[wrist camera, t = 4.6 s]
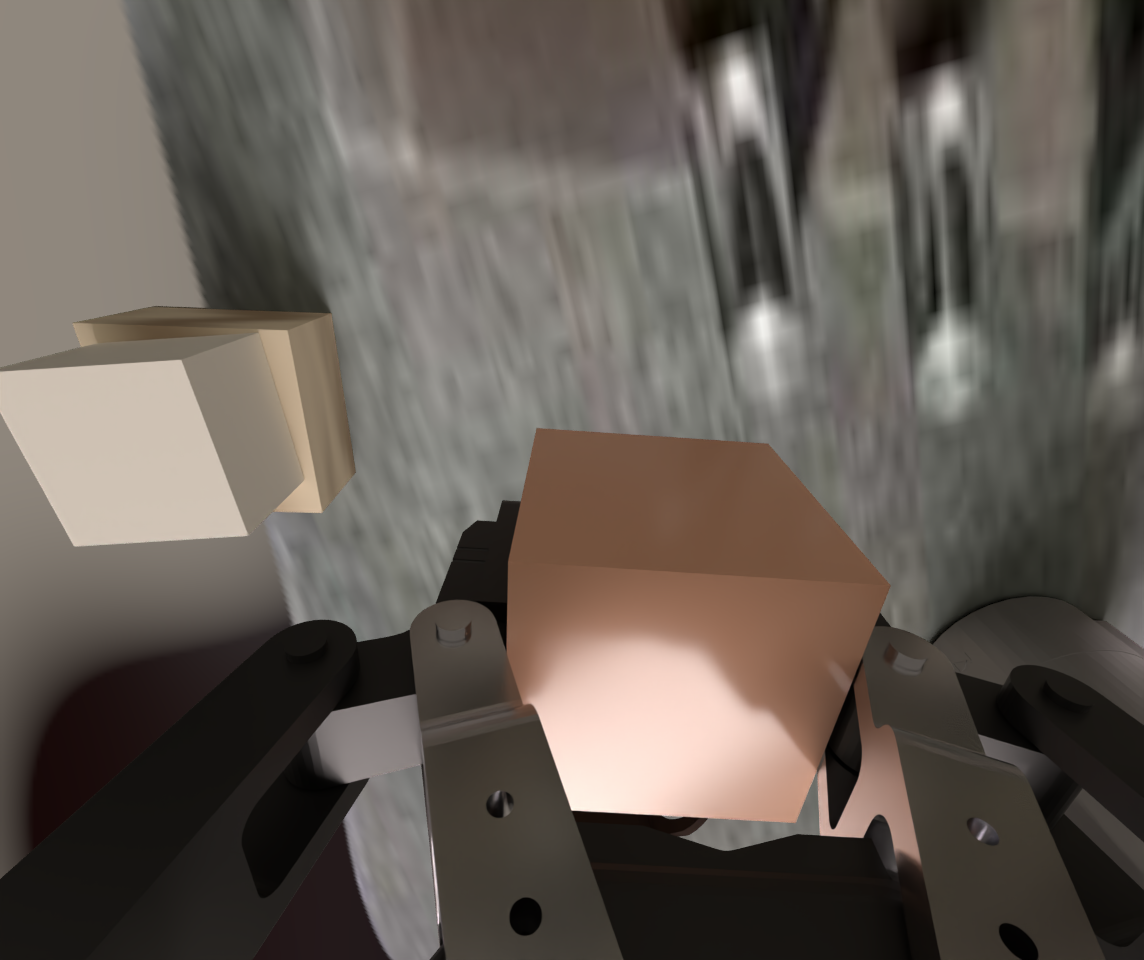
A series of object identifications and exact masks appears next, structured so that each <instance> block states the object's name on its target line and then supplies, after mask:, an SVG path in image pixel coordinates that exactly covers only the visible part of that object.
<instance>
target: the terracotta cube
mask: <svg viewBox="0 0 1144 960" xmlns="http://www.w3.org/2000/svg"><path fill="white" fill-rule="evenodd" d="M890 586H891V585H890V584H889V583H888V582H887V581H886V580H885V578H884V577H883V576H882V575H881V574H880V573H879V571H878V570H877V569H876V568H875V567H874V566H873V565H872V563H871V562H870V561H869V560H868V559H867V558H866V556H865V555H864V554H863V553H862V552H861V551H860V550H859V548H858V547H857V546H856V545H855V544H854V543H853V541H852V540H851V539H850V538H849V537H848V536H847V534H846V533H845V532H844V531H843V530H842V529H841V528H840V526H839V525H838V524H837V523H836V522H835V521H834V519H833V518H832V517H831V516H830V515H829V514H828V512H827V511H826V510H825V509H824V508H823V507H822V506H821V504H820V503H819V502H818V501H817V500H816V499H815V497H814V496H813V495H812V494H811V493H810V492H809V490H808V489H807V488H806V487H805V486H804V485H803V484H802V482H801V481H800V480H799V479H798V478H797V477H796V475H795V474H794V473H793V472H792V471H791V470H790V468H789V467H788V466H787V465H786V464H785V463H784V462H783V460H782V459H781V458H780V457H779V456H778V455H777V453H776V452H775V451H774V450H773V449H772V448H771V447H770V445H769V444H764V443H749V442H734V441H719V440H704V439H689V438H674V437H660V436H645V435H630V434H615V433H600V432H585V431H571V430H556V429H541V428H537V429H536V434H535V438H534V443H533V448H532V452H531V457H530V462H529V466H528V471H527V476H526V480H525V485H524V490H523V494H522V499H521V504H520V508H519V513H518V518H517V522H516V527H515V532H514V536H513V541H512V546H511V550H510V555H509V560H508V598H507V656H508V659H509V662H510V665H511V668H512V672H513V675H514V678H515V681H516V684H517V687H518V690H519V693H520V696H521V699H522V702H523V704H524V705H526V704H530V703H531V704H533V706H534V707H535V709H536V711H537V713H538V715H539V718H540V721H541V723H542V726H543V729H544V732H545V735H546V738H547V741H548V744H549V746H550V749H551V752H552V755H553V758H554V761H555V764H556V767H557V770H558V772H559V775H560V778H561V781H562V784H563V787H564V790H565V793H566V796H567V798H568V801H569V804H570V807H571V810H573V811H591V812H609V813H627V814H645V815H663V816H681V817H699V818H717V819H735V820H753V821H771V822H789V823H796V821H797V818H798V816H799V813H800V811H801V808H802V806H803V803H804V801H805V798H806V796H807V793H808V791H809V788H810V786H811V783H812V781H813V778H814V776H815V773H816V771H817V768H818V766H819V763H820V761H821V758H822V756H823V753H824V751H825V748H826V746H827V743H828V741H829V738H830V736H831V733H832V731H833V728H834V726H835V723H836V721H837V718H838V716H839V713H840V711H841V708H842V706H843V703H844V701H845V698H846V696H847V693H848V691H849V688H850V686H851V683H852V681H853V678H854V676H855V673H856V671H857V668H858V666H859V664H860V661H861V659H862V656H863V654H864V651H865V649H866V646H867V644H868V641H869V639H870V636H871V634H872V631H873V629H874V626H875V624H876V621H877V619H878V616H879V614H880V611H881V609H882V606H883V604H884V601H885V599H886V596H887V594H888V591H889V589H890Z"/></svg>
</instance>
